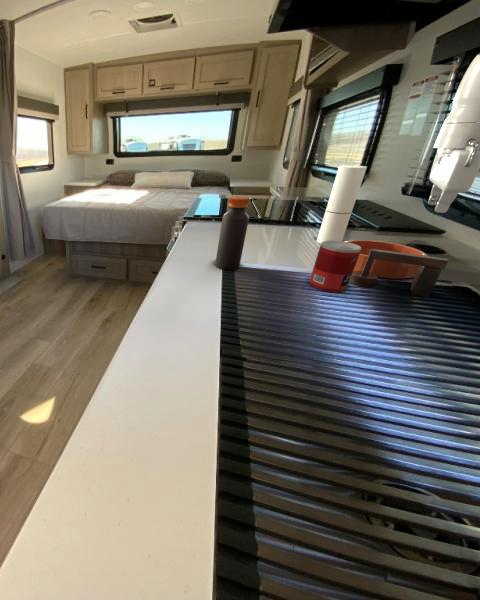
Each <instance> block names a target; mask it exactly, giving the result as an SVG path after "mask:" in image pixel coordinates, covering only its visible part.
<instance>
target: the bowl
mask: <svg viewBox="0 0 480 600" xmlns="http://www.w3.org/2000/svg"><path fill="white" fill-rule="evenodd" d="M344 242H349V243H353V244H356V245H358V246H360V247H361V251H360V254H359V257H358V260H357V263H356V265H355V268H354V270H353V271H363V269H364V266H365V264H366V261H367V259H368V256H369V253H370V251H371V249H377V250H385V251H393V252H400V253H408V254H416V255H423V256H428V255H427V253H426V252H424V251H422V250H421V249H417V248H416V247H411V246H409V245H408V246H407V245H404V244H400V243H396V242H395V243H394V242H388V241H383V240H371V239H350V240H345V241H344ZM419 267H420V265H413V264H406V263H399V262H392V261H385V260H378V259H374V261H373V264H372V266H371V269H370V271H369V273H372V274H375V275H377V277H378V278H380V279H391V280H392V279H397V280H398V279H412V278H415V276H416V274H417V272H418V270H419Z"/></svg>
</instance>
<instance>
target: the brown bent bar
mask: <svg viewBox="0 0 480 600" xmlns="http://www.w3.org/2000/svg"><path fill="white" fill-rule="evenodd" d="M374 259H378V260H385V261H392V262H399V263H406V264H413V265H420V266H427V267H434V268H441V270H446V267H447V265H448V263H449V259H448V258H447V257H437V256H428V255H427V256H423V255H416V254H408V253H400V252H393V251H385V250H377V249H371V251H370V253H369V256H368V259H367V261H366V264H365V266H364V269H363V271H353V273H352V276H351V278H350V281H349V284H352V285H354V286H357V287H361V288H373V287H374V286H375V284H376V283H377V280H378V278H379V277H377V275H375V274H372V273H369V271H370V269H371V266H372V264H373V261H374Z"/></svg>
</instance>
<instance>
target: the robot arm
mask: <svg viewBox="0 0 480 600" xmlns="http://www.w3.org/2000/svg"><path fill="white" fill-rule="evenodd" d="M457 87H458V88H457V89H456V92H455V94H454V97H453V101H452V107H451V111H450V113H449V115H448V116H447V117H446V118H445V120H444V122H443V124H442V126H441V128H440V131H439V133H438V135H437V138H436V140H435V143H434V145H433V149H437V151H436V154H435V157H434V160H433V163H432V166H431V170H430V173H429V182H431V183H432V184H433V185H432V187H431V191H430V196H429V198H428V201H427V203H428V205H430V206H435V207H434V212H435V213H440V214H445V213H447V212H448V210H449V208H450V206H451V205H452V204H453V202H454V201H455V199H456V198H457V196H458V195H459V193H460V194H461V193H462V194H465V193H468V192H469V190H470V189H471V188H472V186H473V184H474V182H475V179H476V177H477V175H478V172H479V170H480V52H479V53H478V54H476V56H475V57H474V58H473V59H472V61H471V63H469V66H468V67H467V69H466V71H465V72H464V74H463V77H462V79H461V81H460V83H459V85H458V86H457Z"/></svg>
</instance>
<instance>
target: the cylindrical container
mask: <svg viewBox="0 0 480 600" xmlns="http://www.w3.org/2000/svg"><path fill="white" fill-rule="evenodd" d="M367 168H368V166H365V165H339V166H338V168H337V173H336V175H335V178H334V181H333V185H332V188H331V192H330V196H329V198H328V202H327V205H326V208H325V211H324V215H323V219H322V222H321V225H320V228H319V232H318V235H317V238H316V242H317V243H318V244H321V243H322V242H324V241H343V240H344V237H345V233H346V231H347V227H348V225H349V221H350V219H351V215H352V213H353V209H354V207H355V204H356V200H357V199H358V194H359V192H360V190H361V189H360V188H361V186H362V183H363V180H364V177H365V174H366V171H367Z"/></svg>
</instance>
